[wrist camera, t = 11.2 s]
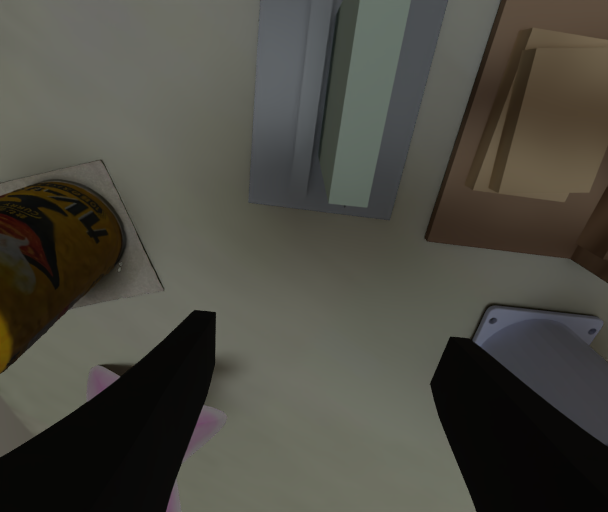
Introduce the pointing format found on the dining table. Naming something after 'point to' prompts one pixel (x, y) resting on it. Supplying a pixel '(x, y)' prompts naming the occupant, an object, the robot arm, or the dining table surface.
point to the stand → (311, 98)
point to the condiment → (63, 252)
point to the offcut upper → (554, 122)
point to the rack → (514, 209)
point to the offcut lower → (494, 126)
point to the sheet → (359, 95)
